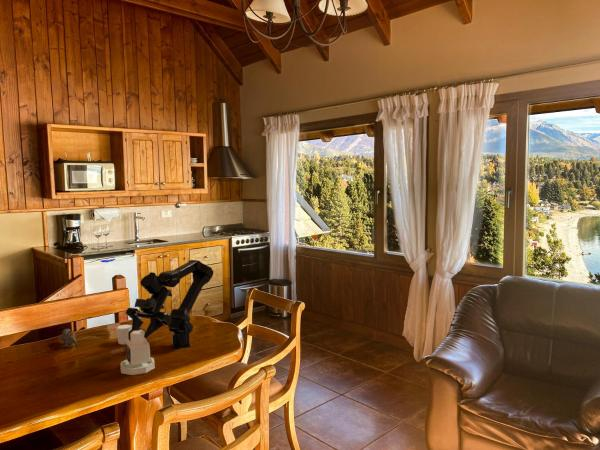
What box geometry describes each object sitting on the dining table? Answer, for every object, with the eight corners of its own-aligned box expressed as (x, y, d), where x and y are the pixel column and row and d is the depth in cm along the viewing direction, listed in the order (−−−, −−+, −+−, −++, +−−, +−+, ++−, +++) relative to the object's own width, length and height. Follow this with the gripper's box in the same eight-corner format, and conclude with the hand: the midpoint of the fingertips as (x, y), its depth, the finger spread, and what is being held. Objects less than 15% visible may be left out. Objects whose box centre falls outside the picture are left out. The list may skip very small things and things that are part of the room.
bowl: (152, 359, 181) (152, 354, 180) (156, 371, 170) (155, 365, 169) (120, 364, 176) (119, 359, 176) (121, 376, 165) (121, 371, 165)
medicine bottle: (126, 359, 174) (124, 329, 172) (145, 355, 178) (144, 325, 176) (130, 366, 168) (129, 334, 167) (150, 361, 172) (149, 330, 170)
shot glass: (127, 345, 197) (127, 329, 196) (113, 344, 198) (112, 328, 197) (136, 339, 203) (135, 324, 203) (122, 338, 205) (121, 323, 204)
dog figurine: (79, 346, 195) (78, 329, 195) (64, 350, 192) (64, 332, 191) (71, 339, 204) (70, 323, 204) (57, 342, 201) (56, 325, 200)
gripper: (127, 287, 179) (107, 323, 170) (165, 291, 172) (146, 329, 163) (142, 301, 187) (123, 336, 178) (180, 306, 180) (162, 343, 171)
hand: (138, 336), depth 172 cm, fingers closed on medicine bottle, 6 cm apart
